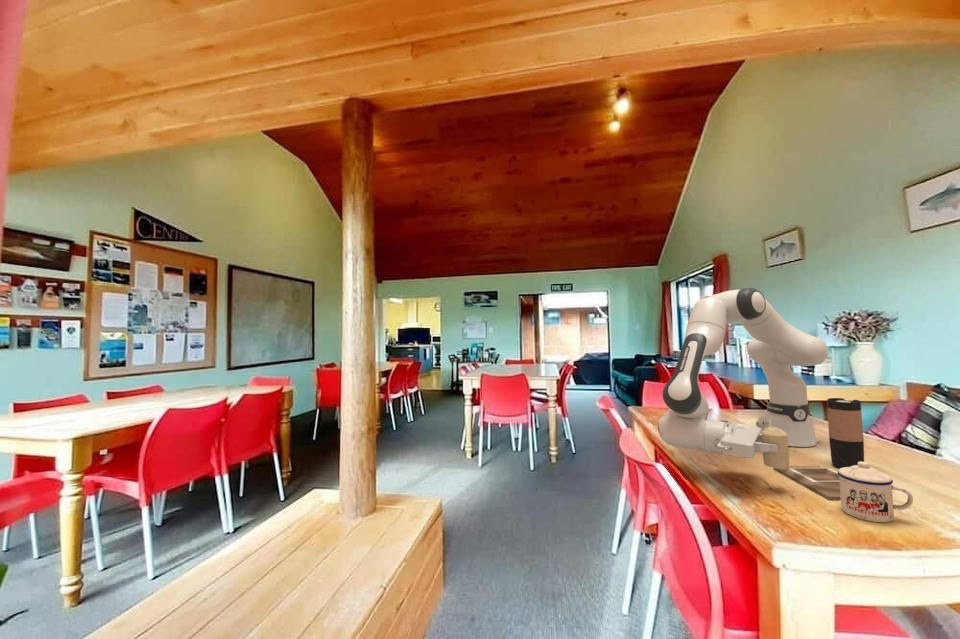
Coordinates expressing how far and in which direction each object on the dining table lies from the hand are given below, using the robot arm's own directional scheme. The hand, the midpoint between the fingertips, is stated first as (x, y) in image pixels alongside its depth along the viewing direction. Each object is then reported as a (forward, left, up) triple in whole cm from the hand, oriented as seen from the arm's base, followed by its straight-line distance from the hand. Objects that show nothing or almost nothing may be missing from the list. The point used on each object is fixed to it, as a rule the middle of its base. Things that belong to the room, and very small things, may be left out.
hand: (779, 444), depth 106 cm
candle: (-1, -1, -6) cm, 6 cm away
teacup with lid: (+14, +11, -12) cm, 22 cm away
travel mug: (-17, +29, -12) cm, 36 cm away
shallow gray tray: (-6, +14, -12) cm, 20 cm away
